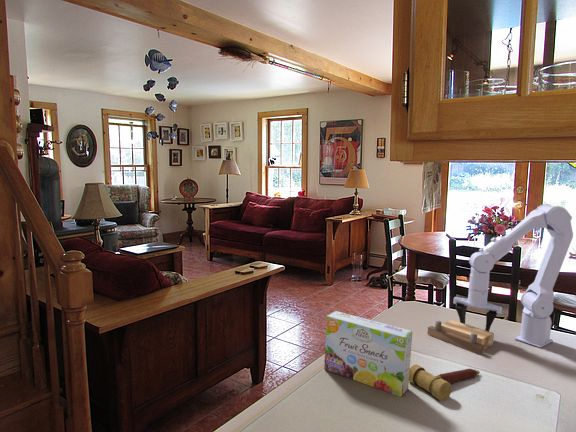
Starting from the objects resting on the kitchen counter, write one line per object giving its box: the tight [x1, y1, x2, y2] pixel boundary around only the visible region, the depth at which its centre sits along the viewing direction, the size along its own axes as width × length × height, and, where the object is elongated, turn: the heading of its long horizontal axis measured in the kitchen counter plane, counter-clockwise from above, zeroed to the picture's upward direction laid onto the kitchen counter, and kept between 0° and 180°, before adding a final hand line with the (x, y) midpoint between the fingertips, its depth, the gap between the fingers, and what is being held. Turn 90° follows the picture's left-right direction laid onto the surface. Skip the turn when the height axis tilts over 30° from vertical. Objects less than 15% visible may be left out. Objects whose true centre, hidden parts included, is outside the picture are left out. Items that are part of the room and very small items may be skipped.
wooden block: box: [441, 319, 495, 350], centre depth 134 cm, size 8×14×4 cm, turn 40°
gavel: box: [409, 364, 480, 402], centre depth 106 cm, size 21×5×10 cm
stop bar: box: [427, 320, 486, 356], centre depth 131 cm, size 2×18×5 cm, turn 37°
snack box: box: [324, 310, 413, 398], centre depth 105 cm, size 21×6×15 cm, turn 55°
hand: (474, 329), depth 138 cm, fingers open, 7 cm apart
